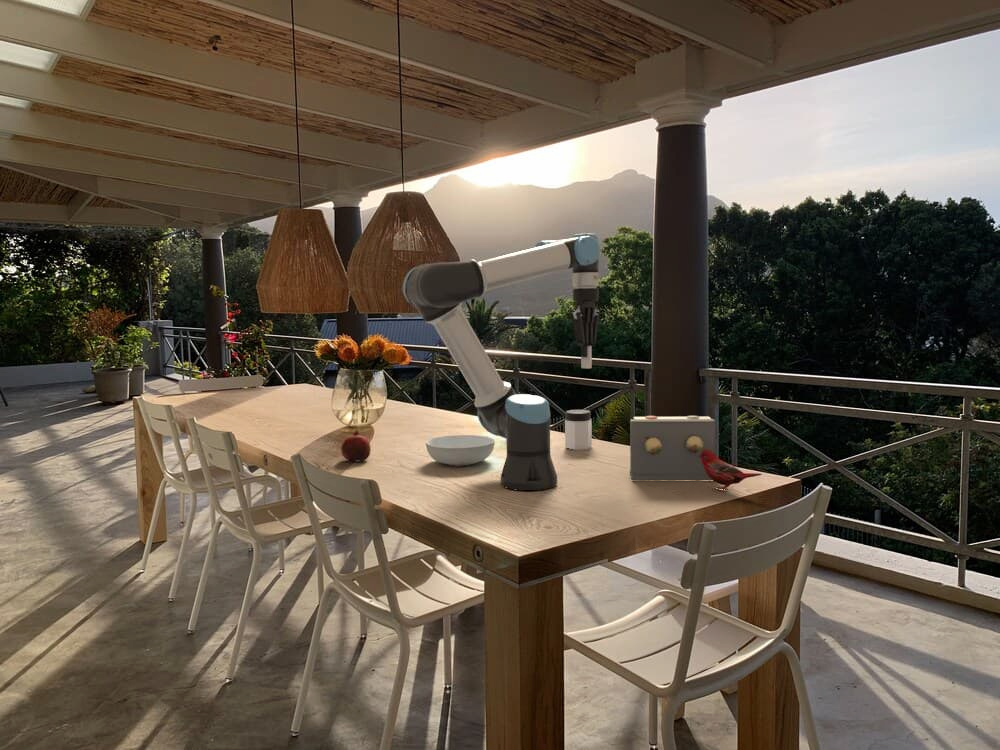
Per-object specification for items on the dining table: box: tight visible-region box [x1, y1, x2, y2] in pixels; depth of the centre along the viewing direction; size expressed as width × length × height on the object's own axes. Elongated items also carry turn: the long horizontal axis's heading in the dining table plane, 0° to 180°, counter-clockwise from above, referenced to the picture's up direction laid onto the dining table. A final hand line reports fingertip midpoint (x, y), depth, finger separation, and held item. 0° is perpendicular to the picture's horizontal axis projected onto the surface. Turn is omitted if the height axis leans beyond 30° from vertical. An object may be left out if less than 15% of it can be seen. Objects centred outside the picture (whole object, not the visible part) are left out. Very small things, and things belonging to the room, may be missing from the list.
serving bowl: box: [425, 434, 495, 466], centre depth 220 cm, size 21×21×7 cm
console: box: [629, 415, 716, 480], centre depth 196 cm, size 6×22×17 cm, turn 84°
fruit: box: [340, 428, 371, 462], centre depth 225 cm, size 9×10×10 cm
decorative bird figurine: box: [698, 449, 762, 491], centre depth 182 cm, size 3×18×10 cm, turn 42°
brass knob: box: [644, 437, 662, 455], centre depth 195 cm, size 9×4×4 cm, turn 174°
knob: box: [685, 435, 703, 453], centre depth 196 cm, size 9×4×4 cm, turn 174°
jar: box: [564, 409, 593, 451], centre depth 237 cm, size 9×8×12 cm
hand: (586, 367), depth 214 cm, fingers closed
